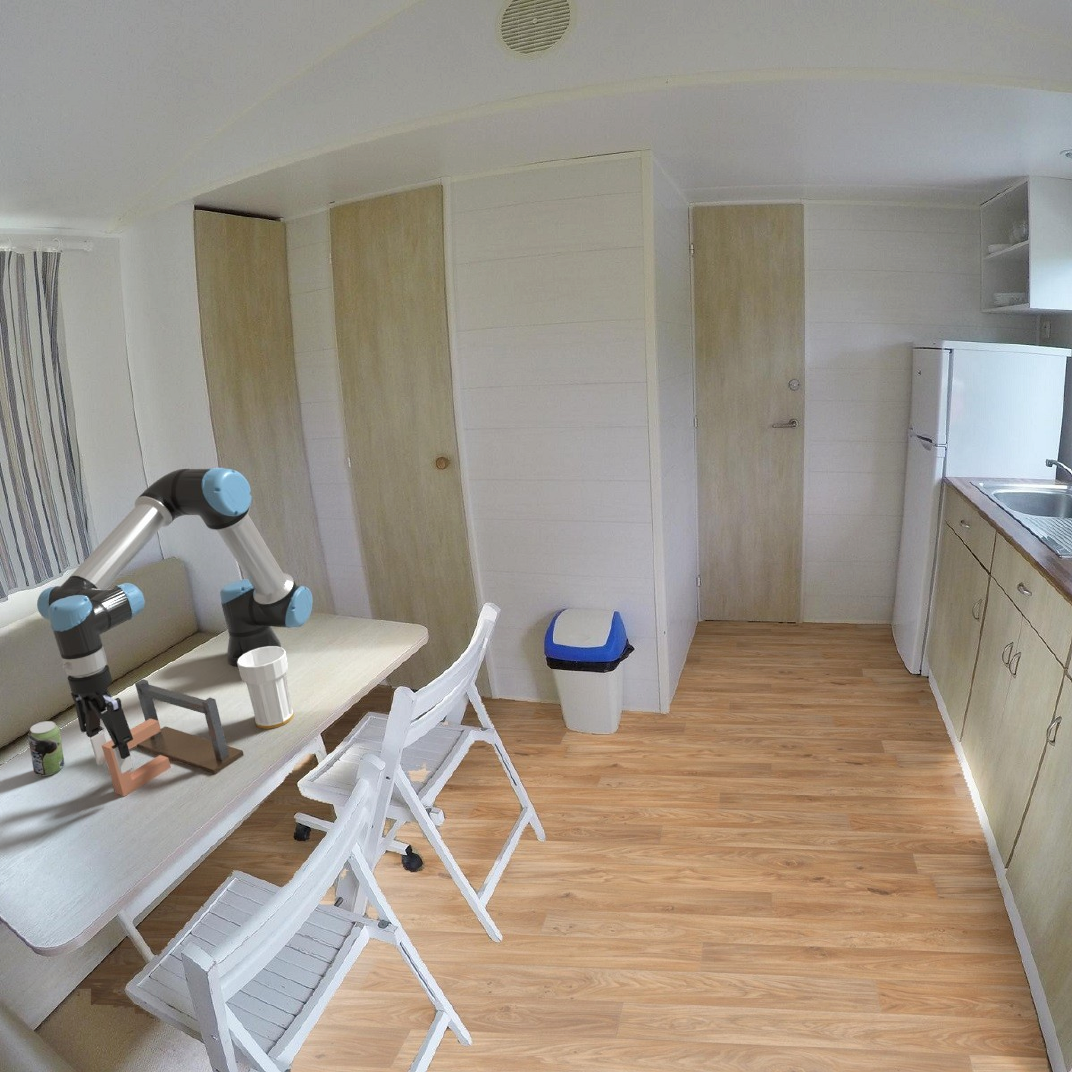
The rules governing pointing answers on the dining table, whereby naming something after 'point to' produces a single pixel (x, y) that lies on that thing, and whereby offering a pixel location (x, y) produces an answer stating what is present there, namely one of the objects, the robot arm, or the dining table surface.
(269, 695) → the cup
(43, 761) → the beverage can
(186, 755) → the stand
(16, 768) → the dining table surface
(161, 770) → the c link
